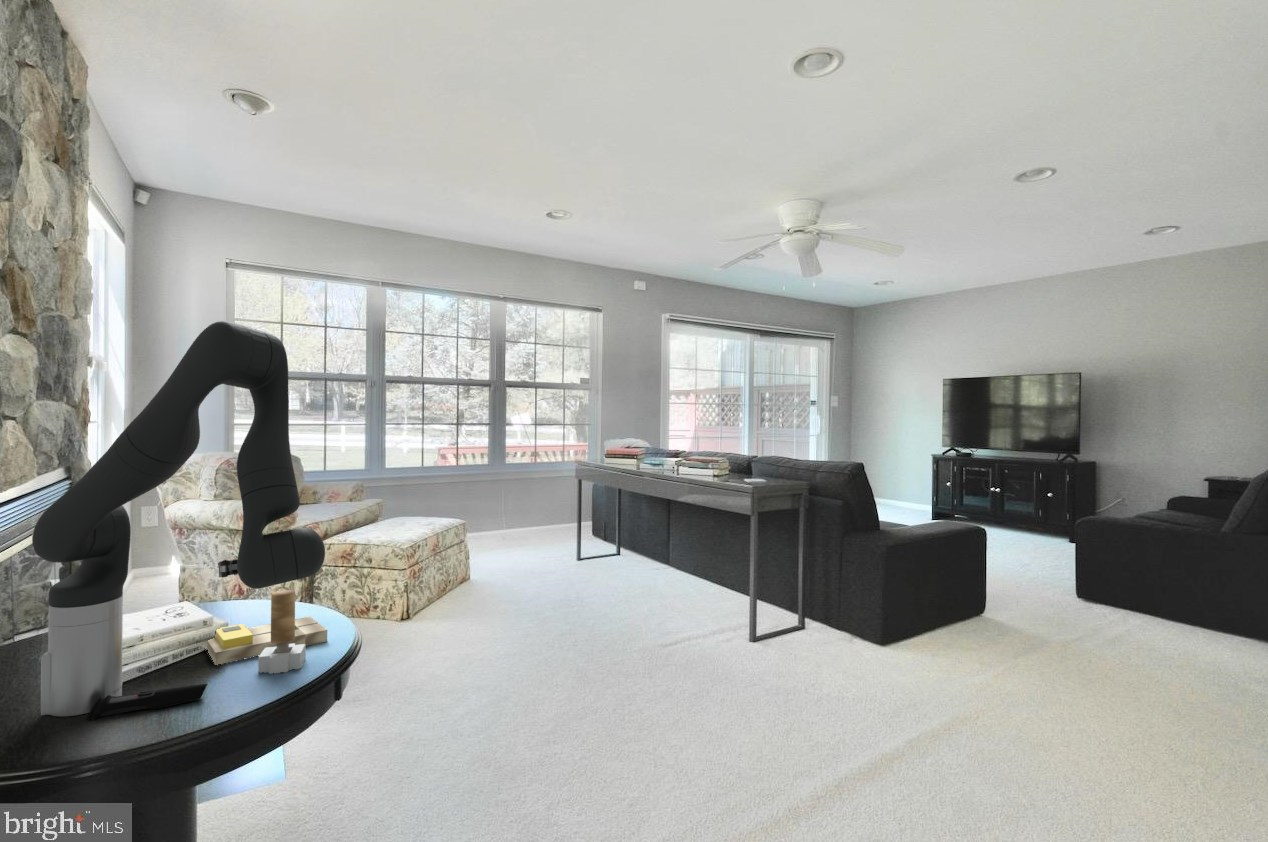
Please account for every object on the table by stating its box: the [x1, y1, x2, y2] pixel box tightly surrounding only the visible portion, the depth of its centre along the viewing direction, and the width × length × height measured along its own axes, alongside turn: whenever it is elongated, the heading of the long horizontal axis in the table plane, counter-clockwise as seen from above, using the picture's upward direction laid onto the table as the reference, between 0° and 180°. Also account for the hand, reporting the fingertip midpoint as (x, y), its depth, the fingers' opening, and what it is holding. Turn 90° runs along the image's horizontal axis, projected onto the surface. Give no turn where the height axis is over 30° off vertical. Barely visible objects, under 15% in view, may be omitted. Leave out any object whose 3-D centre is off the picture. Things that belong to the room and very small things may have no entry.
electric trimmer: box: [86, 683, 208, 721], centre depth 103 cm, size 4×16×3 cm, turn 115°
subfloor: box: [207, 616, 328, 666], centre depth 131 cm, size 20×12×3 cm, turn 133°
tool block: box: [257, 643, 307, 675], centre depth 120 cm, size 7×7×3 cm
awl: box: [270, 589, 296, 653], centre depth 120 cm, size 4×4×14 cm
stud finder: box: [215, 623, 253, 649], centre depth 127 cm, size 5×9×2 cm, turn 43°
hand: (265, 562), depth 114 cm, fingers open, 8 cm apart
